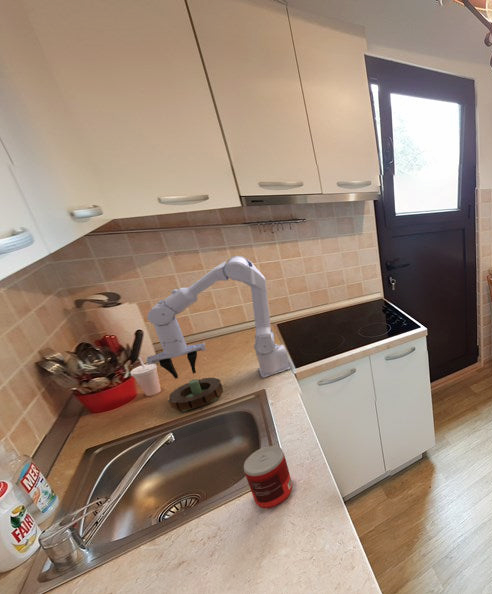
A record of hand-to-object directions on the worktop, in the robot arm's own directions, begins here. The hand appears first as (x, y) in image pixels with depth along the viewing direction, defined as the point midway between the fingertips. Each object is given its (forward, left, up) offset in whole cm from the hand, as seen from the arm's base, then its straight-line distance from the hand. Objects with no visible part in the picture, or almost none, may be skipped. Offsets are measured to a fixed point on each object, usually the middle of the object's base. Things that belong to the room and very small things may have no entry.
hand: (185, 374), depth 112 cm
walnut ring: (-2, +8, -5) cm, 10 cm away
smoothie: (+10, -7, -7) cm, 14 cm away
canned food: (-14, +64, -7) cm, 66 cm away
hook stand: (-2, +8, -6) cm, 10 cm away
